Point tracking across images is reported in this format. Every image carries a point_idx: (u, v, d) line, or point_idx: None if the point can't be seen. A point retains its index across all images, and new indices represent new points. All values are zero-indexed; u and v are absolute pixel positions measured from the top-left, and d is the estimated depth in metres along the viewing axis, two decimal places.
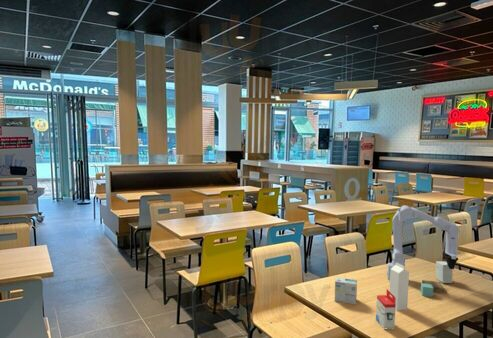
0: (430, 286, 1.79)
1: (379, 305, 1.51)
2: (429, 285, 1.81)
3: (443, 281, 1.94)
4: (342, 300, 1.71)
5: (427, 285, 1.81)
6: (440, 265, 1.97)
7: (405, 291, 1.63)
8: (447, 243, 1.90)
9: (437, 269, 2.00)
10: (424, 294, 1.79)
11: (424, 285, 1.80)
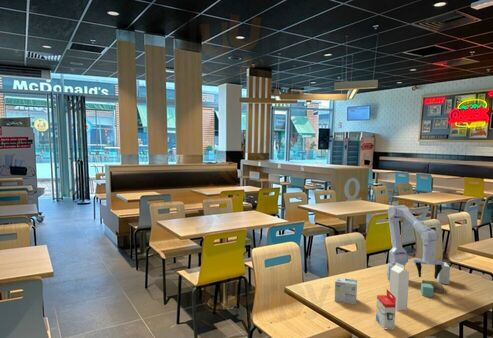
0: (430, 286, 1.79)
1: (379, 305, 1.51)
2: (429, 285, 1.81)
3: (439, 281, 1.95)
4: (342, 300, 1.71)
5: (427, 285, 1.81)
6: None
7: (405, 291, 1.63)
8: None
9: None
10: (424, 294, 1.79)
11: (424, 285, 1.80)
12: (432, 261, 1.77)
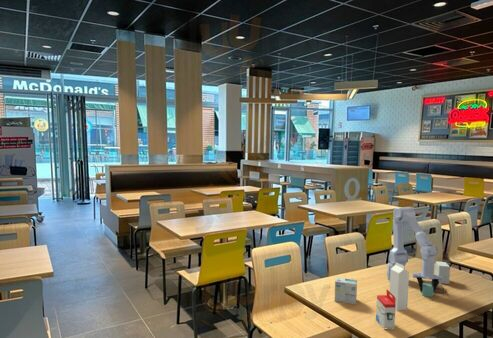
0: (430, 286, 1.79)
1: (379, 305, 1.51)
2: (429, 285, 1.81)
3: (439, 281, 1.95)
4: (342, 300, 1.71)
5: (427, 285, 1.81)
6: (438, 265, 1.97)
7: (406, 291, 1.63)
8: None
9: (436, 269, 2.00)
10: (424, 294, 1.79)
11: (424, 285, 1.80)
12: (431, 276, 1.77)
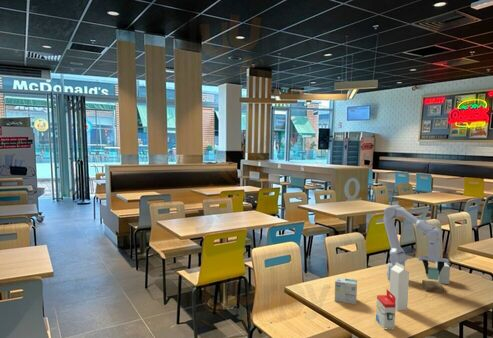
0: (436, 269, 1.84)
1: (379, 305, 1.51)
2: (435, 268, 1.85)
3: (439, 281, 1.95)
4: (342, 300, 1.71)
5: (433, 268, 1.85)
6: None
7: (405, 291, 1.63)
8: (428, 248, 1.85)
9: None
10: (430, 277, 1.84)
11: (430, 268, 1.85)
12: (437, 258, 1.82)
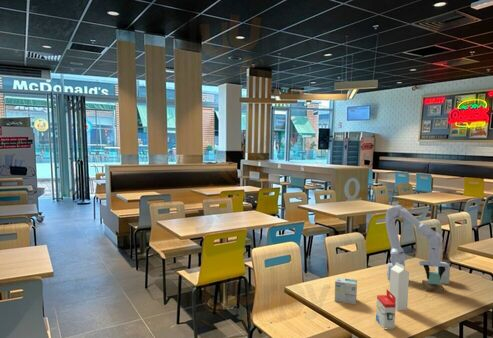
0: (437, 274, 1.86)
1: (379, 305, 1.51)
2: (436, 273, 1.87)
3: None
4: (342, 300, 1.71)
5: (434, 273, 1.87)
6: None
7: (406, 291, 1.63)
8: (429, 253, 1.87)
9: (436, 269, 2.00)
10: (431, 282, 1.85)
11: (431, 273, 1.87)
12: (438, 263, 1.84)
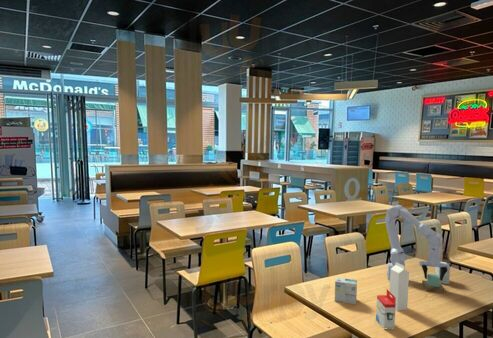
0: (436, 276, 1.86)
1: (379, 305, 1.51)
2: (435, 275, 1.87)
3: None
4: (342, 300, 1.71)
5: (433, 275, 1.87)
6: None
7: (405, 291, 1.63)
8: (429, 253, 1.87)
9: (436, 269, 2.00)
10: (431, 284, 1.85)
11: (430, 275, 1.87)
12: (438, 264, 1.84)
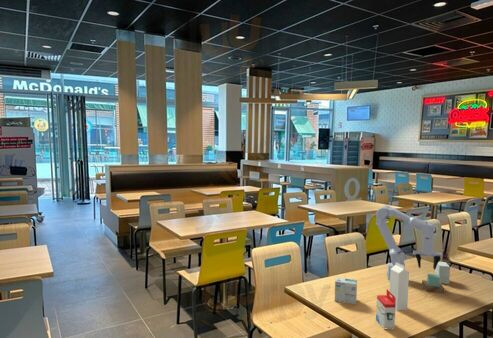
0: (436, 276, 1.86)
1: (379, 305, 1.51)
2: (435, 275, 1.87)
3: (439, 281, 1.95)
4: (342, 300, 1.71)
5: (433, 275, 1.87)
6: (438, 265, 1.97)
7: (405, 291, 1.63)
8: (422, 243, 1.90)
9: (436, 269, 2.00)
10: (430, 284, 1.86)
11: (430, 275, 1.87)
12: (431, 252, 1.87)
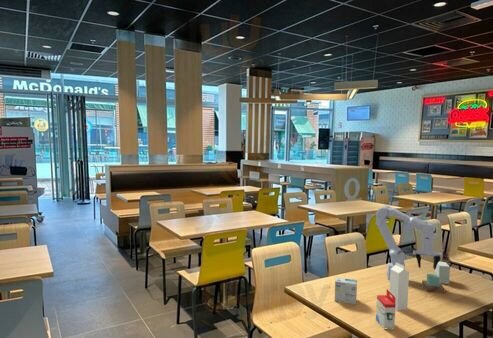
0: (436, 276, 1.87)
1: (379, 305, 1.51)
2: (435, 275, 1.88)
3: (439, 281, 1.95)
4: (342, 300, 1.71)
5: (433, 275, 1.88)
6: (438, 265, 1.97)
7: (405, 291, 1.63)
8: (422, 243, 1.90)
9: (436, 269, 2.00)
10: (431, 284, 1.86)
11: (430, 275, 1.88)
12: (431, 252, 1.87)
